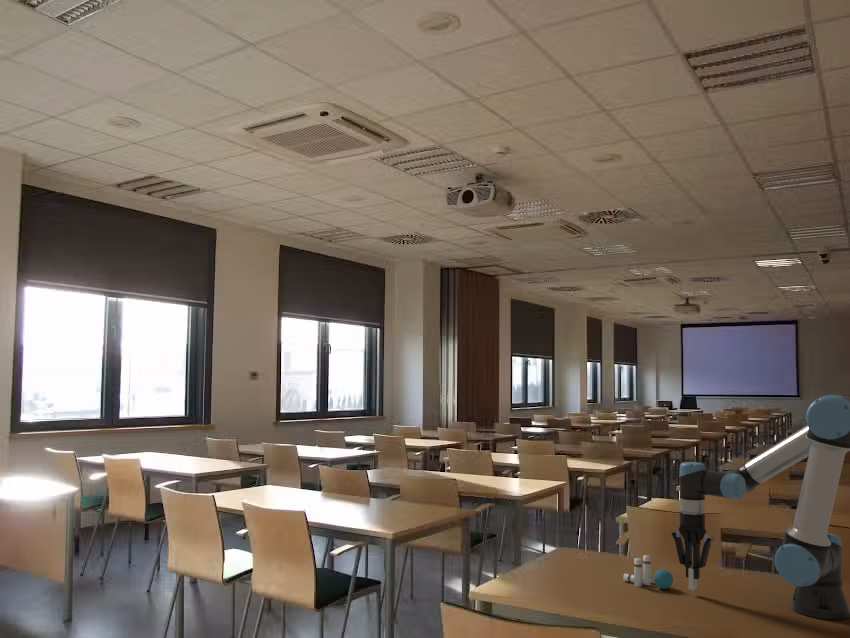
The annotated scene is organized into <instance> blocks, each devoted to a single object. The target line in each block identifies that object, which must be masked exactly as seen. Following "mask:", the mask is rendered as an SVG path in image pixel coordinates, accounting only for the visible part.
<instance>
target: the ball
mask: <svg viewBox="0 0 850 638" xmlns="http://www.w3.org/2000/svg"><path fill="white" fill-rule="evenodd" d="M653 582H654V584H655V586H656V587H657V588H659V589H661V590H667V589H670V588H671V587H672V586H673V584H674V577H673V575H672V573H671V572H670V571H669V570H667V569H659V570H657V571H656V572H655V573H654V574H653Z"/></svg>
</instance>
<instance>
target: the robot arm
mask: <svg viewBox="0 0 850 638" xmlns="http://www.w3.org/2000/svg"><path fill="white" fill-rule="evenodd" d="M805 421H806V425H805V426H803V427H802V428H800V429H799V430H797V431H795V432H794V433H792V434H791V435H789V436H787V437H786V438H784V439H782V440H781V441H779V442H778V443H776V444H774V445H772V446H771V447H769V448H768V449H766V450H763V452H761V453H760V454H758V455H756V456H755V457H753V458H751V459H750V460H749V461H746V462H745V463H743V464H741V465H740V466H738V467H737V468H736V469H731V470H725V471H714V470H713V471H712V470H706V468H705V467H706V466H705V464H704V463H702V462H697V461H684V462H683V461H682V462H681V463H680V465H679V474H678V478H679V510H680V512H679V526H678V530H676V531H673V532H671V536H672V538H673V539H674V541H675V547H676V552H677V557H678V561H679V564H680V565H683V566H684V567H685V577H686V578H687V579H688V590H689V591H695V590H696V589H698V580H699V579H700V577H701V575H700V574H701V572H700V569H703V568H705V567H706V566H707V562H708V557H709V554H710V549H711V545H712V543H713V542H714V540H715V539H714V537H712V536H710V535H709V534H708V533H707V530H706V514H705V512H706V496H712V497H718V498H725V499H728V500H731V499H734V500H740V499H742V498H743V497H744V496H745V494H747V493H750V492H752V491H754V490H756V488H758V487H759V486H760V485H762V484H763V483H765V482H766V481H768V480H770V479H772V478H773V477H774V476H777V475H778V474H780V473H782V472H783V471H785V470H786V469H789V468H791V467H792V466H793V465H795V464H797V463H799V462H801V461H803V460H804V459H805V458H807V461H806V467H805V470H804V476H803V479H802V485H801V488H800V489H801V490H800V494H799V497H798V502H797V507H796V510H795V516H794V519H793V520H794V521H793V524H792V526H790V527H788V528H786V530H785V533H784V537H783V542H782V545H780V546H779V547H778V548H777V550H776V552H775V554H774V566H775V569H776V571H777V572H778V574H779V576H780V577H781V578H782V579H783V581H786V582H787V583H788V584H790V585H793V586H796V587H795V590H794V593H793V595H792V598H791V609H792V610H793V611H794V612H796V613H798V614H801V615H804V616H808V617H812V618H818V619H824V620H846V619H848V618H850V605H849V604H848V601H847V597H846V594H845V592H844V588H843V562H842V561H843V555H842V554H843V552H842V550H843V545H842V538H841V536H839V535H838V534H835V533H830V532H828V531H829V526H830V524H831V518H832V514H833V508H834V505H835V501H836V496H837V490H838V487H839V483H840V478H841V473H842V468H843V465H844V460H845V456H846V454H847V453H849V452H850V395H849V394H840V395H839V394H828V395H823V396H821V397H819V398H817V399H815V400H813V401H812V402H811V403H810V405H809V406H808V408H807V410H806V414H805ZM683 540H684V543H683ZM701 541H703V545H702V543H701ZM701 545H702V550H701Z"/></svg>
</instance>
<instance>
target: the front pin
mask: <svg viewBox="0 0 850 638" xmlns="http://www.w3.org/2000/svg"><path fill="white" fill-rule="evenodd" d="M622 577H623V581H624V582H628V583H633V584H634V574H631V573H625V572H624V574H623V576H622ZM651 584H652V578H651V579H650V578H646V577H643V576H642V586H648V587H650V586H651Z"/></svg>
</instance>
